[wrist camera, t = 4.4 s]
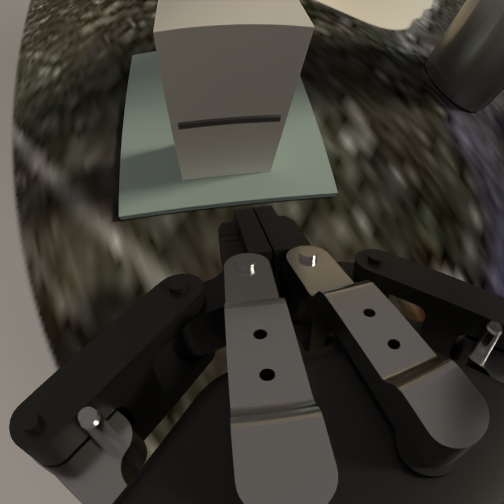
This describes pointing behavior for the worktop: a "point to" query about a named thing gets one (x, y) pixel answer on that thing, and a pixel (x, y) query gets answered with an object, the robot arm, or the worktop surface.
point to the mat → (212, 188)
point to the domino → (229, 79)
